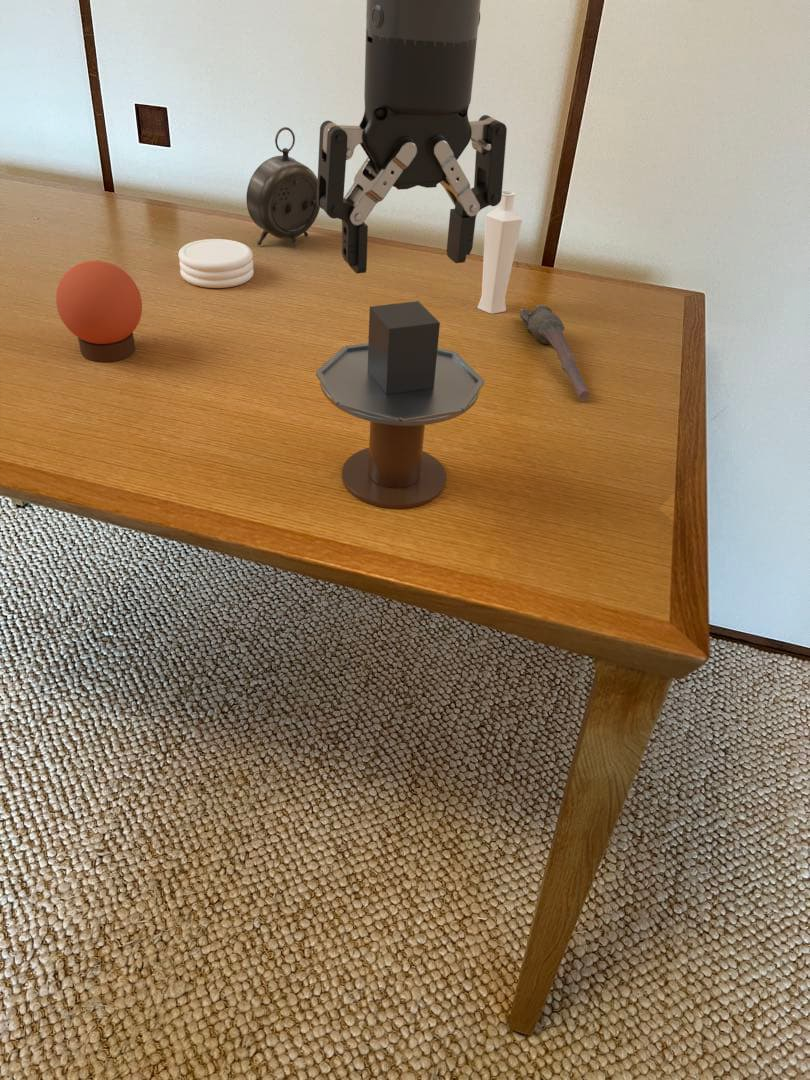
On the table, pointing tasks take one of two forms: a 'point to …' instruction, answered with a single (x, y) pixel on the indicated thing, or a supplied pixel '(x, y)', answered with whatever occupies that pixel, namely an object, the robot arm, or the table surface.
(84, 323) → the ball
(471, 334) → the table surface
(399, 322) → the block
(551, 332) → the natural artifact
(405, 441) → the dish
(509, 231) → the perfume bottle
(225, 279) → the coaster
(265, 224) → the alarm clock
